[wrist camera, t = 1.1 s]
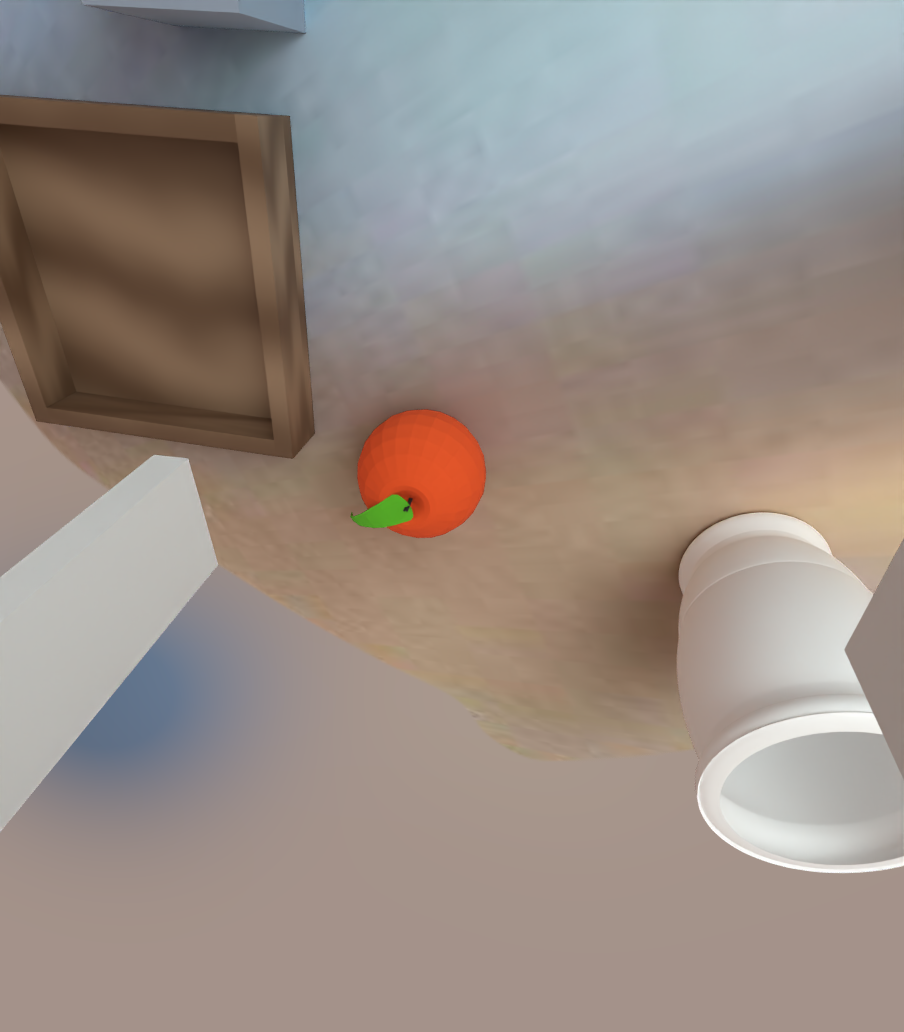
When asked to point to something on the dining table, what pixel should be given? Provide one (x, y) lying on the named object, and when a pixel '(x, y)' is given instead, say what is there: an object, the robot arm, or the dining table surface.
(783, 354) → the dining table surface
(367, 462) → the clementine
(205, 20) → the grey cube
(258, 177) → the walnut tray
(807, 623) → the jar
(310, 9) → the dining table surface
